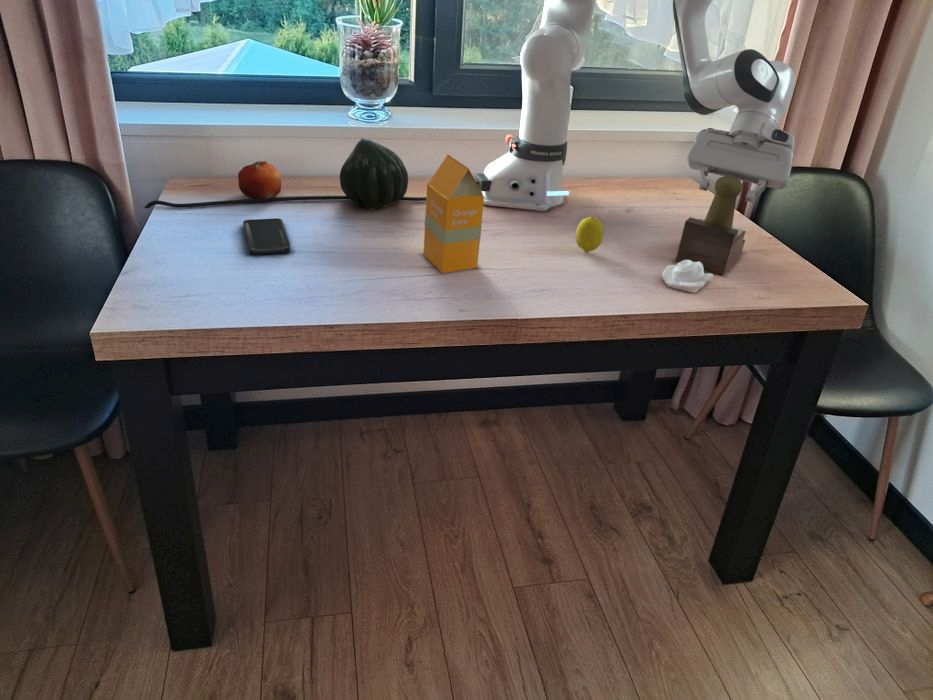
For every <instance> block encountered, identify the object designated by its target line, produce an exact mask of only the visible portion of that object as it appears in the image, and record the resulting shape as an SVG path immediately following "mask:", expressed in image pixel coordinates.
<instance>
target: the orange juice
mask: <svg viewBox="0 0 933 700" xmlns="http://www.w3.org/2000/svg"><path fill="white" fill-rule="evenodd" d="M446 154H447V155H446V156H445V158H444V159H443V161H441V164H440V165H439V167H438V168H437V169H436V171H435V173H434V174H433V176H432V177H431V178H430V180H429V181H428V183H427V184H426V197H427V199H426V201H425V202H426V203H425V215H424V216H425V217H424V236H423V237H424V238H423V239H424V240H423V256H424V257H425V258H426V259H427V260H428V261H429V262H430V263H431V264H433V266H435V268H437V269H438V270H439V271H440V272H441V273H442V274H445V273H446V274H447V273H453V272H459V271H466V270H472V269H478V263H479V253H480V245H481V244H480V242H481V236H482V221H483V212H484V205H483V202H484V197H485V196H484V195H483V193H482V191H481V189H480V188H479V186H478V184H477V183H476V181H475V178H474V177H475V176H473V174H472V172H471V170H470V169H469V167H467V166H466V165H465V164H463V163H461V162H460V161H458V160H457V159H455V158H454V157H452V156H451V155H450V154H448V153H446Z"/></svg>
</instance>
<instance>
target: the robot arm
mask: <svg viewBox="0 0 933 700" xmlns="http://www.w3.org/2000/svg"><path fill="white" fill-rule="evenodd" d="M596 2H597V0H544V2H543V9H542V15H541V16H542V17H541V21H540V24H539V28H538V29H537V30H536V29H535V31H533V32H532V33H531V34H530V35H529V36H528V37H527V38H526V40H525V42H524V44H523V45H522V48H521V51H520V55H519V56H520V57H519V61H520V67H521V90H522V105H521V113H520V123H519V132H518V135H517V136H515V137H514V135H512V134H507V135H506V136H505V138H504V139H505V142H506V144H507V145H508V151H507V152H506V153H505V154H503V155H501V156H500V157H498V158H496V159H495V160H493V161H492V162H490V163H489V164H487V166H486V167H485V169H484V171H483V173H475V175H474V177H475V178H474V179H475V181H476V183H477V184H478V186H479V188H480V189H481V191H482V193H483V195H484V196H485V197H484V202H483V206H491V207H499V208H500V207H501V208H510V209H520V210H529V211H540V212H545V211H547V210H549V209H550V208H552V207H557V206H559V205H561V204H563V203H564V201H565V196H569V195H570V191H569V190H564V184H563V178H564V177H563V173H564V166H565V163H566V159H567V153H568V152H567V151H568V141H567V136H568V129H569V123H570V115H571V109H572V105H571V80H572V72H573V69H575V68H577V66H578V65H579V63H580V62H581V60H582V59H583V56H584V53H585V50H586V45H587V42H588V39H589V38H588V37H589V33H590V29H591V24H592V20H593V15H594V9H595V5H596ZM712 2H713V0H672V15H673V20H674V21H673V22H674V28H675V34H676V40H677V46H678V51H679V58H680V64H681V72H682V73H681V74H682V96H683V100H684V102H685V103H686V105H687V106H688V108H690V109H691V110H692V111H693V112H694V113H696V114H698V115H701V116H708V115H711V114H713V113H717V112H718V111H721V110H722V109H725V108H729V107H732V106H734V107H736V108H737V109H738V112H737V114H736V116H735V118H734V120H733V122H732V124H731V127H730V129H729V131H726V130H722V129H716V128H713V127H707V128H704V129H702V130H700V131H698V133H697V135H696V137H695V138H694V143H693V145H692V147H691V148H690V151H689V153H687V164H688V167H689V168H690V169H692V170H696V171H699V173H700V180H701V181H700V183H699V185H698V189H699V190H701V191H704V192H707V191H708V188H709V187H710V180H709V179H707V178H706V177H708V176H709V174H712V175H716V176H721V177H733V178H736V179H738V180H740V181H741V182H746V183H750V184H753V185H757V186H756V187H755V188H754V189H753V190H752V189H748V191H747V193H746V195H745V199H744V201H745V202H747V203H751V204H752V203H754V201H755V199H756V197H758V196H759V195H760V194H762V193H763V192H764V191H766V188H769V189H771V188H772V189H775V190H778V191H779V190H780V191H781V190H782V189H784V188H786V187H787V185H788V183H789V180H790V176H791V172H792V167H793V159H794V152H795V146H796V142H795V141H796V140H795V136H794V135H792V134H790V133H789V132H787V131H785V130H783V129H781V128H780V122H781V120H782V119H783V118H784V116H785V115H786V113H787V110H788V108H789V106H790V103H791V101H792V98H793V95H794V90H795V86H796V74H795V72H794V70H793V69H792V67H791V66H790V65H788V64H787V63H785V62H783V61H781V60H768V59H767V57H766V56H765V55H764V54H762V53H761V52H760V51H758V50H756V49H752V48H747V49H744V50H740V51H737V52H735V53H732V54H729V55H727V56H725V57H722V58H720V59H716V60H714V61H712V59H711V57H710V51H709V45H708V37H707V30H706V22H705V21H706V14H707V11H708V8H709V6H710V5H711V3H712ZM426 199H427V196H403V198H402V199H400V200H399V201H406V202H407V201H409V202H426ZM316 200H317V201H319V200H321V201H322V200H323V201H324V200H325V201H327V200H350V199H349V198H348V197H347V196H346V195H302V196H276V197H274V198H267V199H254V198H244V199H241V198H240V199H228V200H227V199H226V200H215V201H203V202H202V201H201V202H191V203H189V202H188V203H173V202H169V201H164V200H152V201H150V202H148V203H147V204H146V205H145V206H144V207H143V208H144V209H150V208H151V207H153V206H156V205H161V206H166V207H169V208H175V209H176V208H177V209H178V208H179V209H180V208H181V209H182V208H197V207H209V206H223V205H239V204H251V203H266V202H267V203H269V202H289V201H316Z"/></svg>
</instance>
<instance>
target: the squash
mask: <svg viewBox="0 0 933 700" xmlns="http://www.w3.org/2000/svg"><path fill="white" fill-rule="evenodd" d="M339 184H340V187H341V190H342V192H343V194H344V196H347V197H348V198H349V199H348V200H350V201H351V203H352V204H353V205H355V206H356V207H359V208H367V209H368V210H376V209H378V208H379V207H380V206H383V207H386V206H390V204H395V203H397V202H399V201H401V200H400V199H402V198H403V197H405V195H406V194H407V190H408V186H409V173H408V170H407V168H406V166H405V163H404V161H403V160H402V159H401V157H400V156H399V155H398V154H396V152H395V151H393V150H391V149H390V148H388V147H386V146H384V145H382V144H380V143H378V142H376V141H373V140H371V139H367V138H360V140H359V141H358V142H357V143H356V145H355V146H354V148H353V149H352V151H351V152H350V154H349V156H348V157H347V158H346V160H345V161H344V163H343V165H342V167H341V169H340V173H339Z"/></svg>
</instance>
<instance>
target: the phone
mask: <svg viewBox="0 0 933 700" xmlns="http://www.w3.org/2000/svg"><path fill="white" fill-rule="evenodd" d="M242 223H243V231H244V235H245V236H244V237H245V240H246V241H245V242H246V246H247V251H248V254H249V255H250V256H261V255H277V254H288V253H290V252H291V244H290V240H289V236H288V234H287V231H286V228H285V224H284V221H283V219H282V218H257V219H256V218H255V219H253V218H252V219H245V220H243V222H242Z"/></svg>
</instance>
